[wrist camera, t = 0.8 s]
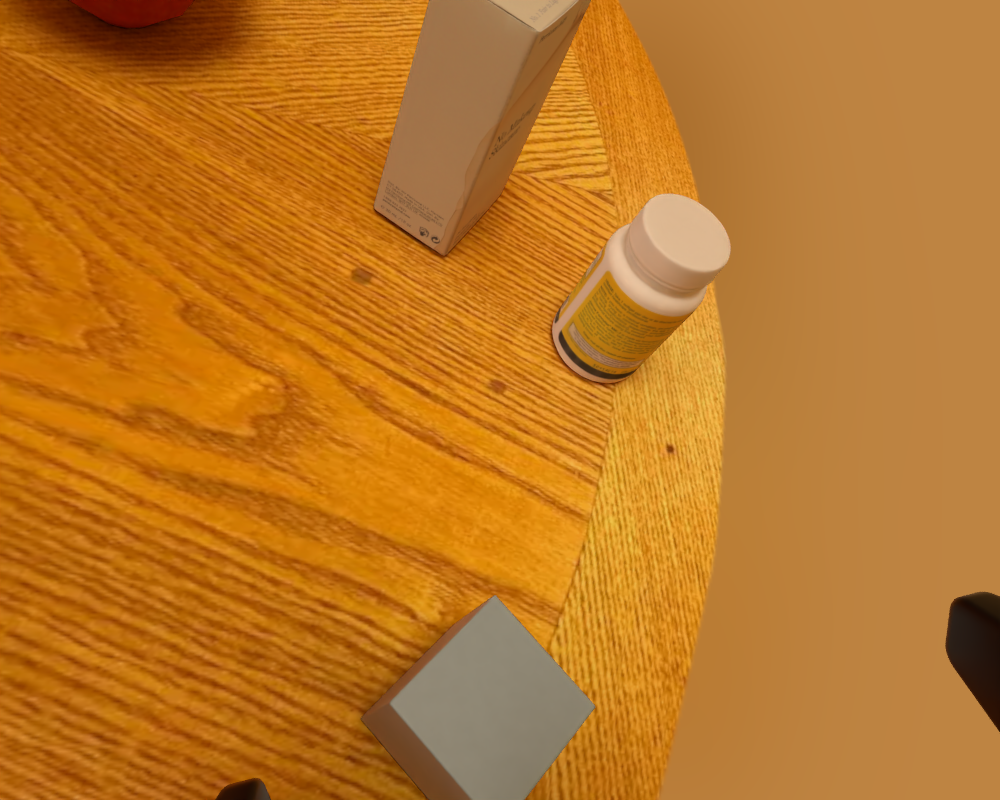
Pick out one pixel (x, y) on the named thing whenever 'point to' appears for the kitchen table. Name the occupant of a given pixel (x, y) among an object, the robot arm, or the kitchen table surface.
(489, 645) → the block
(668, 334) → the supplement bottle
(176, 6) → the apple
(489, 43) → the cosmetic box
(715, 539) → the kitchen table surface
